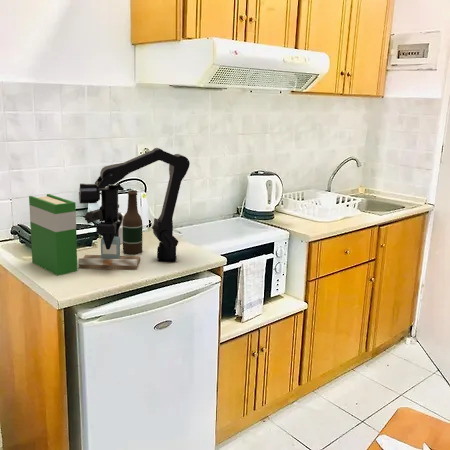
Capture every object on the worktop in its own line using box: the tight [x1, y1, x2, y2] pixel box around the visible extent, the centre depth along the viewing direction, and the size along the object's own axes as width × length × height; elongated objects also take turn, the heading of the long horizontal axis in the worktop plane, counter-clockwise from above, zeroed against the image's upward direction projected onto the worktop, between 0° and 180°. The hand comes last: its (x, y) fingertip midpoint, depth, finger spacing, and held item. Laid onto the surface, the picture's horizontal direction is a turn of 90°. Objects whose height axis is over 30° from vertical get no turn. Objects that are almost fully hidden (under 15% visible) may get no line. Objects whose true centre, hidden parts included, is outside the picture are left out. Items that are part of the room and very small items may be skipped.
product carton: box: [100, 236, 121, 259], centre depth 182 cm, size 5×6×8 cm
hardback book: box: [28, 193, 78, 276], centre depth 175 cm, size 18×7×24 cm, turn 47°
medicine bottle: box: [116, 211, 125, 245], centre depth 209 cm, size 7×7×12 cm
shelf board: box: [77, 254, 141, 271], centre depth 182 cm, size 20×11×4 cm, turn 93°
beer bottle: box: [122, 190, 143, 256], centre depth 195 cm, size 8×8×24 cm
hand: (110, 245), depth 182 cm, fingers open, 9 cm apart
